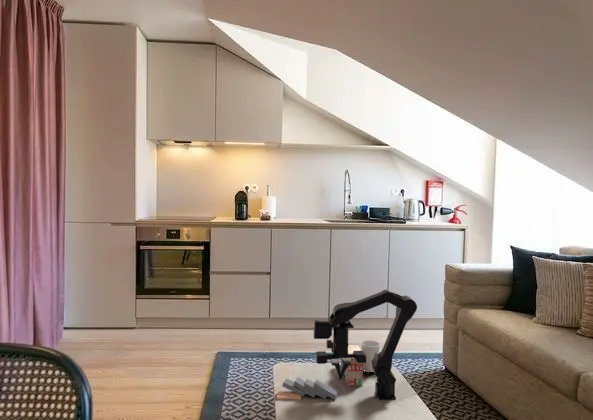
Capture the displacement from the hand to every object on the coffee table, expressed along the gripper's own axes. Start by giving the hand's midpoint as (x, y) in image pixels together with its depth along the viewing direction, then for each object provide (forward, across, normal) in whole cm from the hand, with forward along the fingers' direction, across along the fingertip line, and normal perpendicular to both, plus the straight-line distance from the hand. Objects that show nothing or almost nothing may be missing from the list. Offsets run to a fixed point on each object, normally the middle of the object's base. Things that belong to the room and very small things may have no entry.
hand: (340, 379), depth 172 cm
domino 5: (+6, +2, +1) cm, 6 cm away
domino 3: (+6, +9, -1) cm, 11 cm away
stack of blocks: (+7, -8, -19) cm, 22 cm away
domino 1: (+5, +13, -1) cm, 14 cm away
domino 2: (+6, +15, 0) cm, 16 cm away
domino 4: (+6, +5, 0) cm, 8 cm away
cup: (+7, -18, -23) cm, 30 cm away
